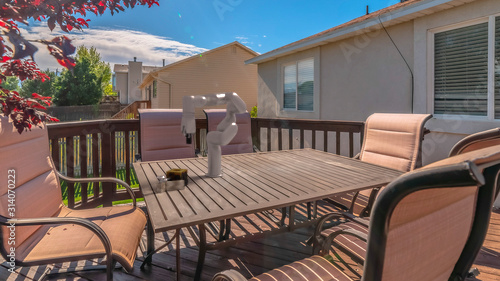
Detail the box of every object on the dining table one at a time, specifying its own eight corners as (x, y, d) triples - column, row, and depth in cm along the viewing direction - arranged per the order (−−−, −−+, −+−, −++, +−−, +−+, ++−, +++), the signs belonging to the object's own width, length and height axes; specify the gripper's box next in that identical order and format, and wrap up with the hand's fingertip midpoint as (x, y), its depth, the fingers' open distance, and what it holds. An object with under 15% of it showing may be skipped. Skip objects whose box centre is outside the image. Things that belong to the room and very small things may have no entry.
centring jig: (163, 185, 177) (163, 177, 177) (185, 188, 171) (185, 180, 170) (148, 190, 165) (147, 182, 165) (170, 194, 159) (170, 185, 158)
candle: (181, 188, 171) (180, 172, 169) (165, 187, 173) (165, 171, 172) (188, 184, 180) (188, 168, 179) (173, 183, 183) (173, 167, 182)
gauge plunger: (168, 178, 172) (168, 172, 172) (174, 179, 170) (174, 173, 170) (154, 183, 162) (154, 176, 161) (161, 184, 160) (161, 177, 160)
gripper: (190, 114, 191) (191, 142, 193) (176, 115, 178) (176, 144, 180) (200, 115, 188) (200, 143, 190) (186, 115, 175) (186, 145, 177)
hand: (188, 143), depth 185 cm, fingers closed
